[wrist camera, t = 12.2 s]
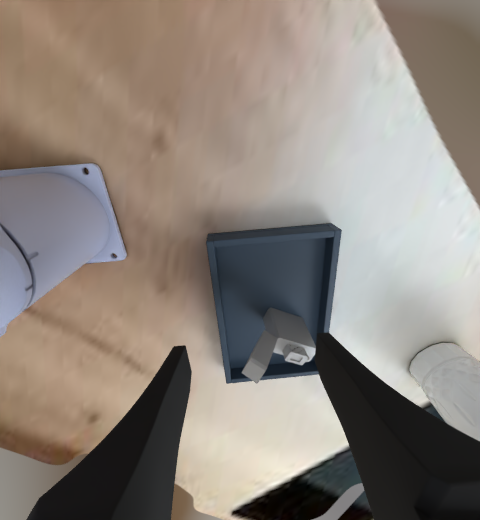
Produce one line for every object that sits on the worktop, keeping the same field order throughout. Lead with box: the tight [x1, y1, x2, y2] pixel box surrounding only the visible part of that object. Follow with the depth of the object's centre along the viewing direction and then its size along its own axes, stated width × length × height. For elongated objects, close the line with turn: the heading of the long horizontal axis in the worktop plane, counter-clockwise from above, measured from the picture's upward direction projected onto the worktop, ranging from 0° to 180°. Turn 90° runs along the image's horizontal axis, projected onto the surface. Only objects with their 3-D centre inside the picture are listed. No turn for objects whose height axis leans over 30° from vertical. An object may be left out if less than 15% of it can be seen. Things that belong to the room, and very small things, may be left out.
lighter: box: [242, 308, 316, 383], centre depth 20 cm, size 7×2×8 cm, turn 67°
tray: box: [206, 223, 341, 383], centre depth 23 cm, size 11×17×2 cm, turn 4°
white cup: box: [409, 343, 480, 441], centre depth 25 cm, size 8×8×10 cm
